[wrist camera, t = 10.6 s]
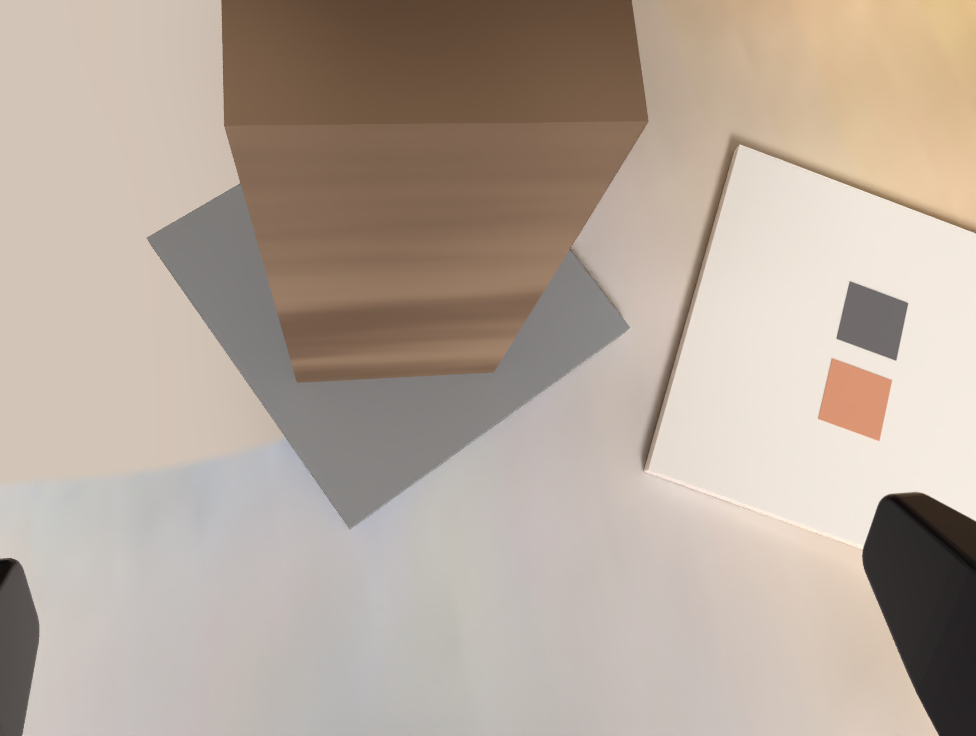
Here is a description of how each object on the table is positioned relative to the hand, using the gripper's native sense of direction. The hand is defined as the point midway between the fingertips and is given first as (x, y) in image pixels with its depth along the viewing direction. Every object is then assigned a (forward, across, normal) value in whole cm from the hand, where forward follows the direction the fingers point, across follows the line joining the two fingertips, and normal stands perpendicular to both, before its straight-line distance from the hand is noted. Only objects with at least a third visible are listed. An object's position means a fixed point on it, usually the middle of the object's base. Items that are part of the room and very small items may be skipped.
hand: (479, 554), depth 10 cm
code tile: (+13, -13, +6) cm, 19 cm away
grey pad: (+15, 0, +4) cm, 15 cm away
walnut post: (+14, 0, +4) cm, 15 cm away
